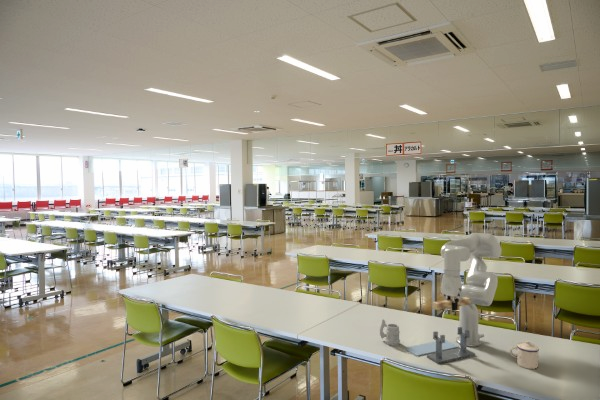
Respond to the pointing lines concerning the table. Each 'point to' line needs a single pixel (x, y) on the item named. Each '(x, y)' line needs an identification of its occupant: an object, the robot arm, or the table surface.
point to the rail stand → (451, 354)
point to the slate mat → (429, 348)
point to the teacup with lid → (526, 355)
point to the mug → (390, 333)
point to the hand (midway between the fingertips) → (451, 308)
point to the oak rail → (450, 303)
